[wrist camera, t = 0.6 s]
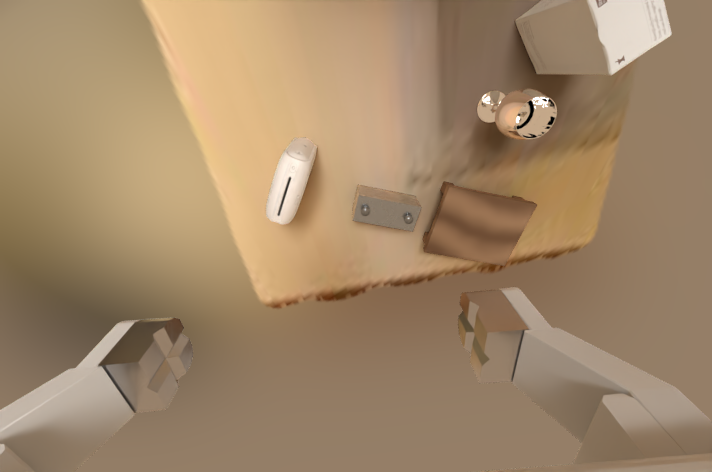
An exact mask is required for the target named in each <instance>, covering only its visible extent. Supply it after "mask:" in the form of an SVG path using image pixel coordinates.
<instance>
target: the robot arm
mask: <svg viewBox="0 0 712 472" xmlns="http://www.w3.org/2000/svg"><path fill="white" fill-rule="evenodd" d="M460 306H461V307H462V310H463V311H462V313H461V314H460V315H459V316H458V329H459V336H460V339H461V342H462V345H463V347H464V349H465V350H466V351H468V352H469V353H471V359H470V363H471V365H472V368H473V370H474V372H475V375H476V376H477V379H478V381H479V383H497V382H512V384H513V385H515V386H516V387H517V388H518V389H519V390H520V391H522V392H523V393H524V394H525V395H526V396H527V397H529V398H530V399H531V400H532V401H533V402H534V403H536V404H537V405H538V406H539V407H540V408H541V409H543V410H544V411H545V412H546V413H547V414H548V415H550V416H551V417H552V418H553V419H554V420H555V421H557V422H558V423H559V424H560V425H561V426H563V427H564V428H565V429H566V430H567V431H568V432H569V433H571V434H572V435H573V436H574V437H575V438H576V439H578V440H579V441H580V442H581V443H582V444H581V446H580V448H579V450H578V453H577V455H576V457H575V459H574V462H573V464H567V465H554V466H542V467H529V468H516V469H503V470H491V471H479V472H712V421H711V420H710V419H709V418H707V417H706V416H705V415H704V414H703V413H702V412H701V411H700V410H699V409H698V408H697V407H696V406H695V405H694V404H693V403H692V402H691V401H689V400H688V399H687V398H686V397H685V396H684V395H683V394H682V393H681V392H680V391H679V390H678V389H677V388H675V387H674V386H672V385H670V384H667V383H666V382H664V381H662V380H659V379H658V378H656V377H654V376H652V375H650V374H648V373H646V372H644V371H642V370H640V369H638V368H636V367H634V366H632V365H630V364H628V363H626V362H624V361H622V360H620V359H618V358H616V357H614V356H613V355H611V354H609V353H607V352H605V351H603V350H601V349H599V348H597V347H595V346H593V345H591V344H589V343H587V342H585V341H583V340H581V339H579V338H577V337H575V336H573V335H571V334H569V333H567V332H565V331H563V330H561V329H559V328H552V327H551V326H550V325H549V324H548V323H547V322H546V320H545V319H544V318H543V317H542V315H541V314H540V313H539V312H538V311H537V310H536V308H535V307H534V306H533V305H532V303H531V302H530V301H529V300H528V299H527V298H526V296H525V295H524V294H523V293H522V291H521V290H520V289H518V288H517V287H512V288H502V289H497V290H486V291H475V292H465V293H462V294H461V297H460ZM183 329H184V327H183V325H182V323H181V321H180V319H178V318H159V319H143V320H133V321H132V320H131V321H123V322H120V323H118V324H117V325H116V326H115V327H114V328H113V329H112V330H111V331H110V332H109V333H108V334H107V335H106V336H105V337H104V338H103V339H102V340H101V342H100V343H99V344H98V345H97V346H96V347H95V348H94V349H93V350H92V351H91V352H90V353H89V354H88V356H87V357H86V358H85V359H84V360H83V361H82V362H81V363H80V364H79V365H78V366H77V367H76V368H75V369H69V370H67V371H65V372H64V373H62V374H60V375H59V376H57V377H55V378H54V379H52V380H50V381H49V382H47V383H45V384H44V385H42V386H40V387H38V388H37V389H35V390H33V391H32V392H30V393H28V394H27V395H25V396H23V397H22V398H20V399H18V400H16V401H15V402H13V403H11V404H10V405H8V406H6V407H5V408H3V409H1V410H0V472H74V471H76V470H77V469H78V468H79V467H80V466H81V465H82V464H83V463H84V462H85V461H86V460H87V459H88V458H89V457H90V456H92V455H93V454H94V453H95V452H96V451H97V450H98V449H99V448H100V447H101V446H102V445H103V444H104V443H105V442H106V441H107V440H109V439H110V438H111V437H112V436H113V435H114V434H115V433H116V432H117V431H118V430H119V429H120V428H121V427H122V426H123V425H124V424H125V423H127V422H128V421H129V420H130V419H131V418H132V417H133V416H134V415H135V413H138V412H147V411H155V410H165V409H167V408H168V406H169V404H170V402H171V401H172V399H173V397H174V395H175V393H176V391H177V390H178V388H179V384H178V379H179V378H180V377H182V376H183V375H184V374H185V373H187V371H188V369H189V367H190V365H191V362H192V357H193V348H192V344H191V342H190V339H189V338H187V337H186V336H184V335H183V334H181V333H182V331H183Z"/></svg>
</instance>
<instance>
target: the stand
mask: <svg viewBox="0 0 712 472" xmlns="http://www.w3.org/2000/svg"><path fill="white" fill-rule="evenodd" d="M440 191H441V192H442V193H443V197H442V200H441V202H440V205H439V208H438V210H437V213H436V216H435V218H434V221H433V224H432V226H431V229H430V232H425V234H424V237H423V241H424V243H425V245H424V248H423V249H424V251H425V252H427V253H433V254H439V255H445V256H450V257H456V258H462V259H468V260H473V261H479V262H485V263H491V264H496V265H502V266H505V264H506V262H507V260H508V259H509V257H510V255H511V253H512V251H513V249H514V247H515V246H516V244H517V242H518V240H519V238H520V236H521V234H522V232H523V231H524V229H525V227H526V225H527V223H528V221H529V219H530V218H531V216H532V214H533V212H534V210H535V208H536V206H537V204H535V203H534V202H531V201H526V200H524V199H523V198H521V197H516V196H512V198H511V197H506V196H501V195H497V194H492V193H487V192H482V191H477V190H472V189H467V188H462V187H458V186H455V185H454V184H453V183H449V182H443V185H442V187H441V190H440Z"/></svg>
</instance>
